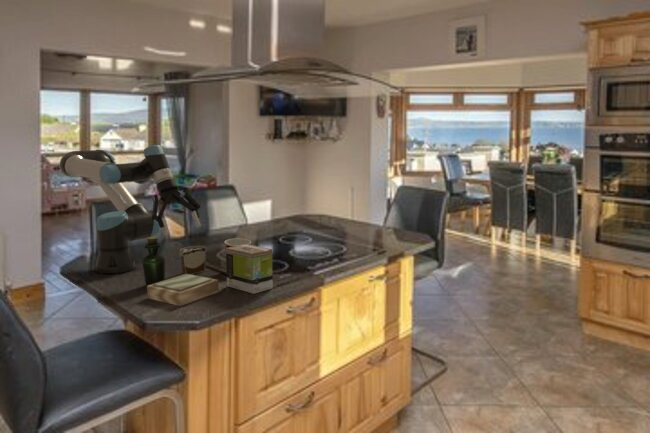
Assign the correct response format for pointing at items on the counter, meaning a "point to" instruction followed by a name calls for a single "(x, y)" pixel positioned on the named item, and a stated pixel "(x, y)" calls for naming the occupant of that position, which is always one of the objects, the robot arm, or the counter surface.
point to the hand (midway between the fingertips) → (183, 230)
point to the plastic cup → (236, 242)
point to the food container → (193, 259)
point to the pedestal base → (182, 289)
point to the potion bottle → (153, 263)
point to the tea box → (249, 268)
